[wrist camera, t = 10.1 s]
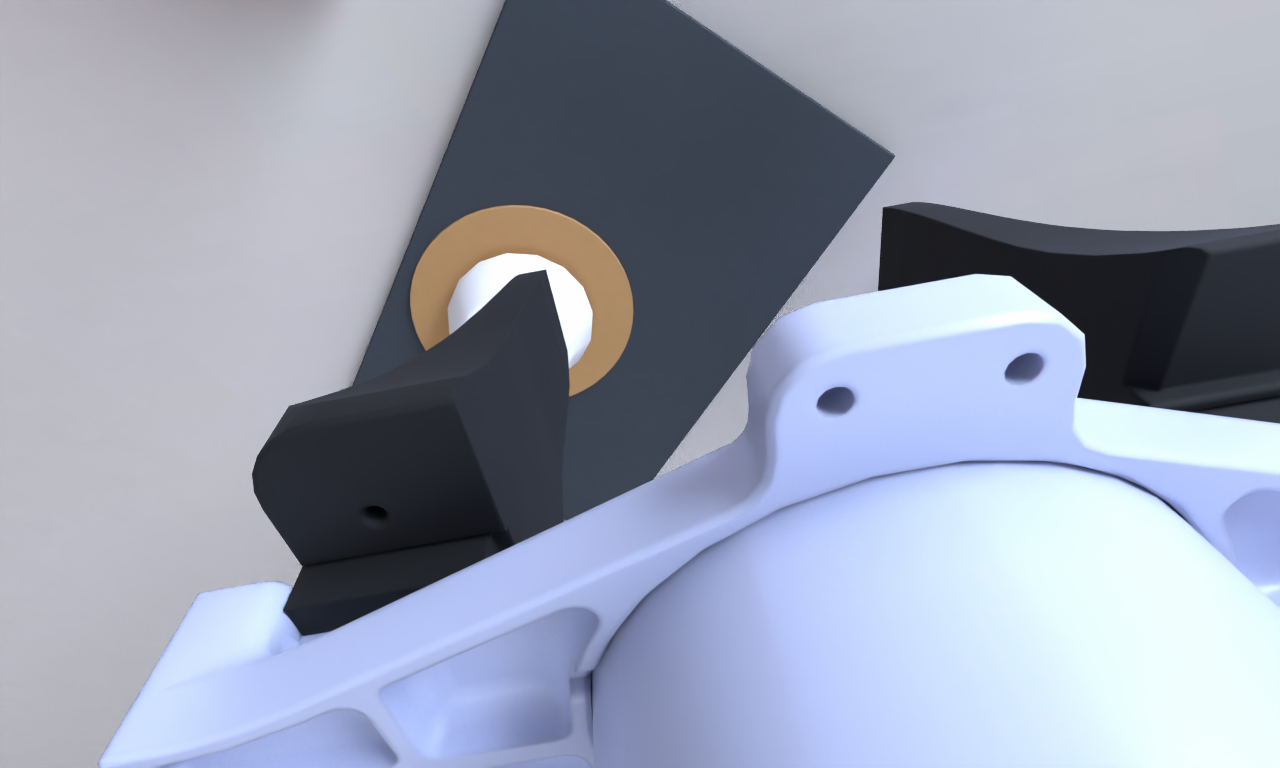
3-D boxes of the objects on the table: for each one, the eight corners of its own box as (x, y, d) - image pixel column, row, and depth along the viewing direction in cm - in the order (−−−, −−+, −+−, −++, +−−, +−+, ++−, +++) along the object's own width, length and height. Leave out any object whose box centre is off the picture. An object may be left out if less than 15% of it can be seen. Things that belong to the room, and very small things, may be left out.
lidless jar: (614, 285, 23) (481, 224, 21) (619, 325, 20) (469, 259, 19) (557, 389, 25) (433, 342, 24) (555, 436, 23) (416, 387, 21)
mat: (889, 151, 22) (898, 158, 21) (610, 526, 31) (611, 539, 30) (540, -85, 17) (539, -87, 17) (334, 432, 26) (328, 445, 26)
